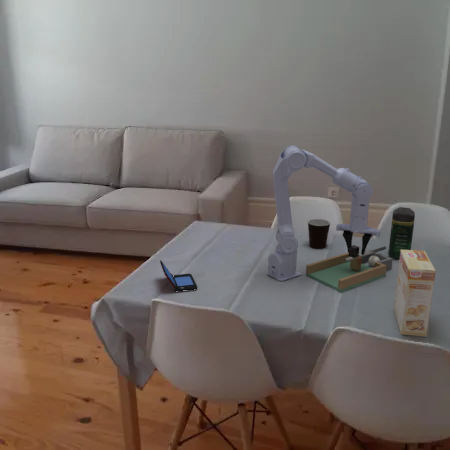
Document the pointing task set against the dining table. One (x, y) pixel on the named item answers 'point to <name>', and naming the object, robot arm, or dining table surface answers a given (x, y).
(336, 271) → the pitch
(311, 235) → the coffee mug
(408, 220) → the coffee jar
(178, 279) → the handheld game console
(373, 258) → the ball
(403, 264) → the coffeecake box
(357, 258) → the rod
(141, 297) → the dining table surface
